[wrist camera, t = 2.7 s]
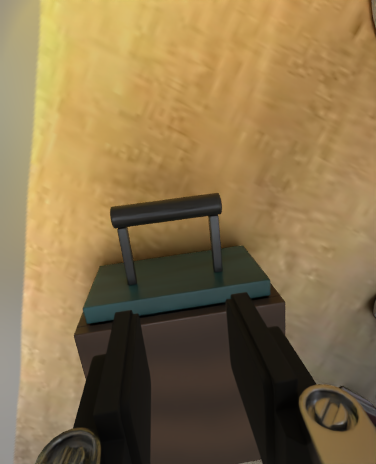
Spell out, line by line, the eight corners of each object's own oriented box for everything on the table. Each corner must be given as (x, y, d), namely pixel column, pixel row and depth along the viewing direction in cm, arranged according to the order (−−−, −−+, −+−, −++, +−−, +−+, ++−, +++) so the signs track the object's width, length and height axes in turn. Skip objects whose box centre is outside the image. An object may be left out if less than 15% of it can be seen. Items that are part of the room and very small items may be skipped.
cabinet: (97, 275, 26) (73, 335, 18) (247, 253, 26) (285, 301, 19) (125, 397, 30) (115, 488, 22) (253, 375, 31) (286, 455, 23)
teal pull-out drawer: (84, 199, 23) (60, 222, 17) (239, 179, 23) (268, 195, 17) (126, 385, 28) (119, 452, 22) (249, 364, 29) (274, 423, 23)
